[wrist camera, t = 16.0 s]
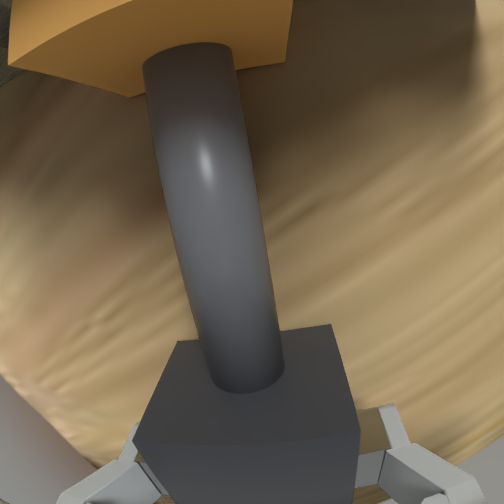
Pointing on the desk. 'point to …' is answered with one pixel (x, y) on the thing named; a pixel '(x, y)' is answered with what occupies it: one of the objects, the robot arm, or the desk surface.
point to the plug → (212, 251)
